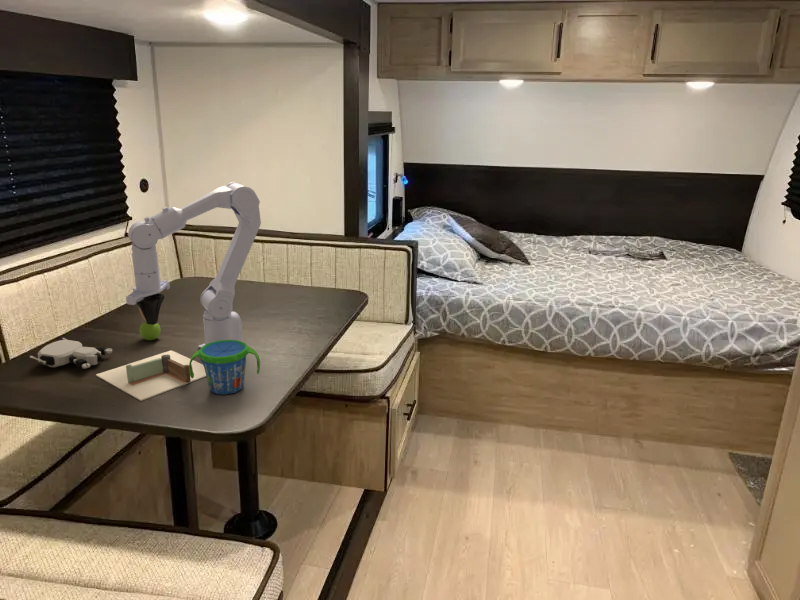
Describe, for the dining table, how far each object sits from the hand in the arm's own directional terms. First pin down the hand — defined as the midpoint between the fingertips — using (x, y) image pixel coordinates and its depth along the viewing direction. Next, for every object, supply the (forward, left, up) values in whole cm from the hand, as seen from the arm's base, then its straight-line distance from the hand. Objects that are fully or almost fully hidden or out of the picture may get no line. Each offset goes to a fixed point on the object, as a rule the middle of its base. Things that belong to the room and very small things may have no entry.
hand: (152, 323), depth 154 cm
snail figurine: (-6, -13, -10) cm, 17 cm away
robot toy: (+15, -12, -10) cm, 22 cm away
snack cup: (-1, +28, -10) cm, 30 cm away
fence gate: (+8, +10, -9) cm, 16 cm away
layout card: (+5, +9, -9) cm, 14 cm away
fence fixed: (+3, +14, -9) cm, 17 cm away
